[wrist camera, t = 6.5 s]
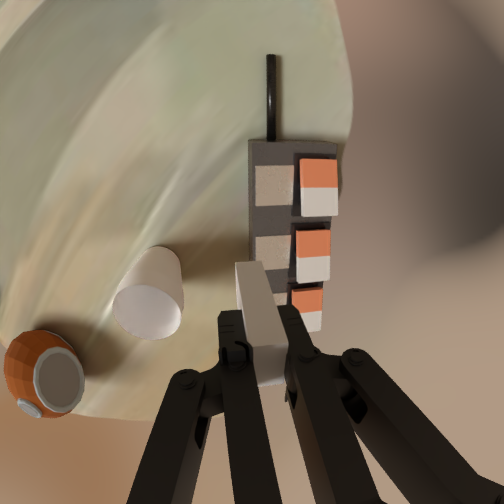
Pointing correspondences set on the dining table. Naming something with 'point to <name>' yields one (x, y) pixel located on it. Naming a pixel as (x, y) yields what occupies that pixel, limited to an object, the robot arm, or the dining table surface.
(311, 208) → the rocker
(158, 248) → the cup
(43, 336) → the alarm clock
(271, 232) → the power strip
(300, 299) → the rocker
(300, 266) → the rocker
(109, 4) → the dining table surface
